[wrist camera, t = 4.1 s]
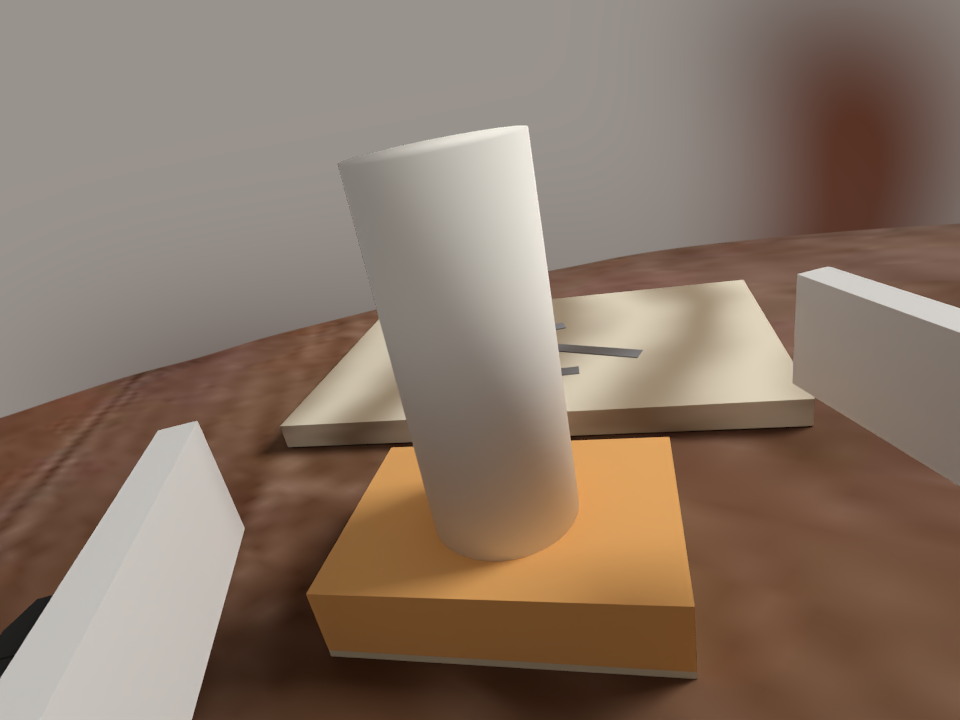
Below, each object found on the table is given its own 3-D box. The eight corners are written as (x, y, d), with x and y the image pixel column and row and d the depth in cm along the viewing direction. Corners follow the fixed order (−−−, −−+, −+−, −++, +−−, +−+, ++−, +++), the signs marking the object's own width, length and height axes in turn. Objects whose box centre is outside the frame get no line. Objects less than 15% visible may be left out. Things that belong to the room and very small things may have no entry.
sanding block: (331, 657, 17) (148, 207, 12) (406, 500, 23) (308, 158, 18) (697, 680, 14) (676, 116, 9) (672, 496, 21) (651, 96, 15)
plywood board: (287, 447, 28) (279, 425, 28) (386, 332, 41) (381, 315, 40) (813, 425, 23) (814, 397, 22) (743, 299, 35) (743, 278, 34)
